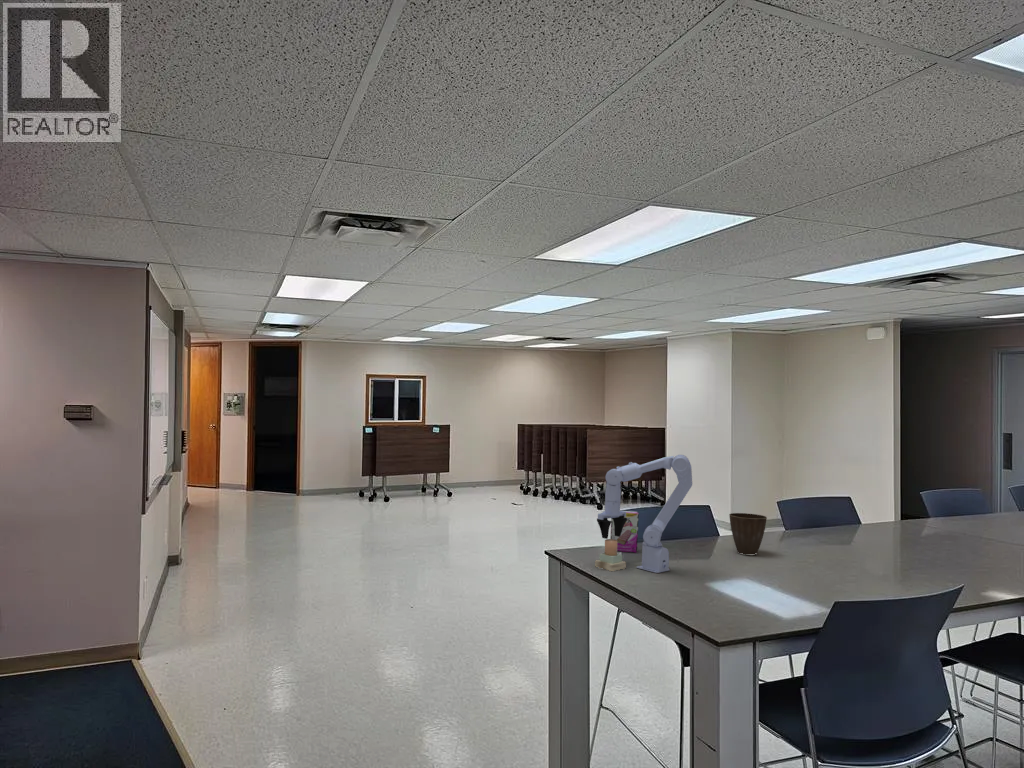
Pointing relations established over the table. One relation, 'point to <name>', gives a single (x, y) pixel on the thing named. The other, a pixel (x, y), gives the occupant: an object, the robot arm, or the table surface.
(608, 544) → the terracotta cylinder
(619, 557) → the tower top
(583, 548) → the table surface
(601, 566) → the tower base
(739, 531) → the plant pot
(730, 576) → the table surface
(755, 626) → the table surface
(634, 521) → the candy bar box
